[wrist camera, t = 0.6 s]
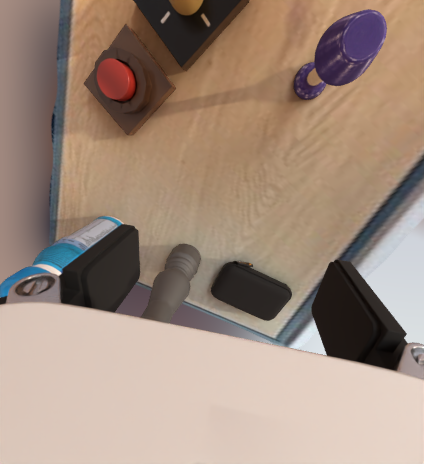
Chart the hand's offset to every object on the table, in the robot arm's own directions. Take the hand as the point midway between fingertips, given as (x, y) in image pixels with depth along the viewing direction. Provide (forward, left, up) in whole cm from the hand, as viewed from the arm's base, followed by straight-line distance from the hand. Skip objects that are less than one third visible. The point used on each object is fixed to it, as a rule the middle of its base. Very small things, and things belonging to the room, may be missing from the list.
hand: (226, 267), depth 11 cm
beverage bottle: (+28, -6, -28) cm, 40 cm away
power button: (+5, -20, -25) cm, 32 cm away
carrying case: (+12, +20, -28) cm, 37 cm away
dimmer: (-8, -21, -28) cm, 36 cm away
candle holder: (+19, +7, -28) cm, 35 cm away
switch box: (+5, -20, -28) cm, 35 cm away
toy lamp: (-14, -4, -28) cm, 32 cm away
